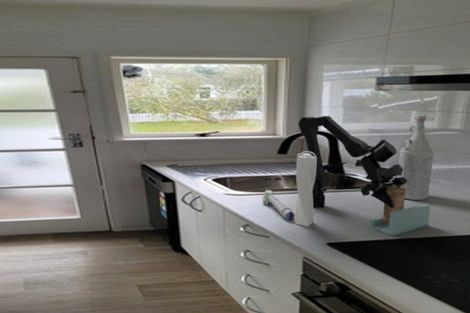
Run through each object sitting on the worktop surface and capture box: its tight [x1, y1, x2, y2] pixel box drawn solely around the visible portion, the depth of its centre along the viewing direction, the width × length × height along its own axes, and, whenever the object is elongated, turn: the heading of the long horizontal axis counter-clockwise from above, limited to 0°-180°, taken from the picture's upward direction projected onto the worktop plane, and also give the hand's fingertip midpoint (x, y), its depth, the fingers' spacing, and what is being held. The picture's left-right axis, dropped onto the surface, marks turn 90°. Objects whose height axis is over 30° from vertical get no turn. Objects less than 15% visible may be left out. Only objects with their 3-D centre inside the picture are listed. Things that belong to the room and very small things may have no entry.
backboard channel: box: [370, 203, 431, 236], centre depth 120 cm, size 9×20×8 cm, turn 118°
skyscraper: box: [294, 150, 317, 227], centre depth 121 cm, size 8×8×28 cm
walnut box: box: [383, 186, 406, 224], centre depth 116 cm, size 4×4×13 cm
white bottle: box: [397, 113, 435, 201], centre depth 156 cm, size 13×17×40 cm
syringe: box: [261, 189, 296, 221], centre depth 138 cm, size 5×7×25 cm
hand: (397, 206), depth 115 cm, fingers closed on walnut box, 4 cm apart
